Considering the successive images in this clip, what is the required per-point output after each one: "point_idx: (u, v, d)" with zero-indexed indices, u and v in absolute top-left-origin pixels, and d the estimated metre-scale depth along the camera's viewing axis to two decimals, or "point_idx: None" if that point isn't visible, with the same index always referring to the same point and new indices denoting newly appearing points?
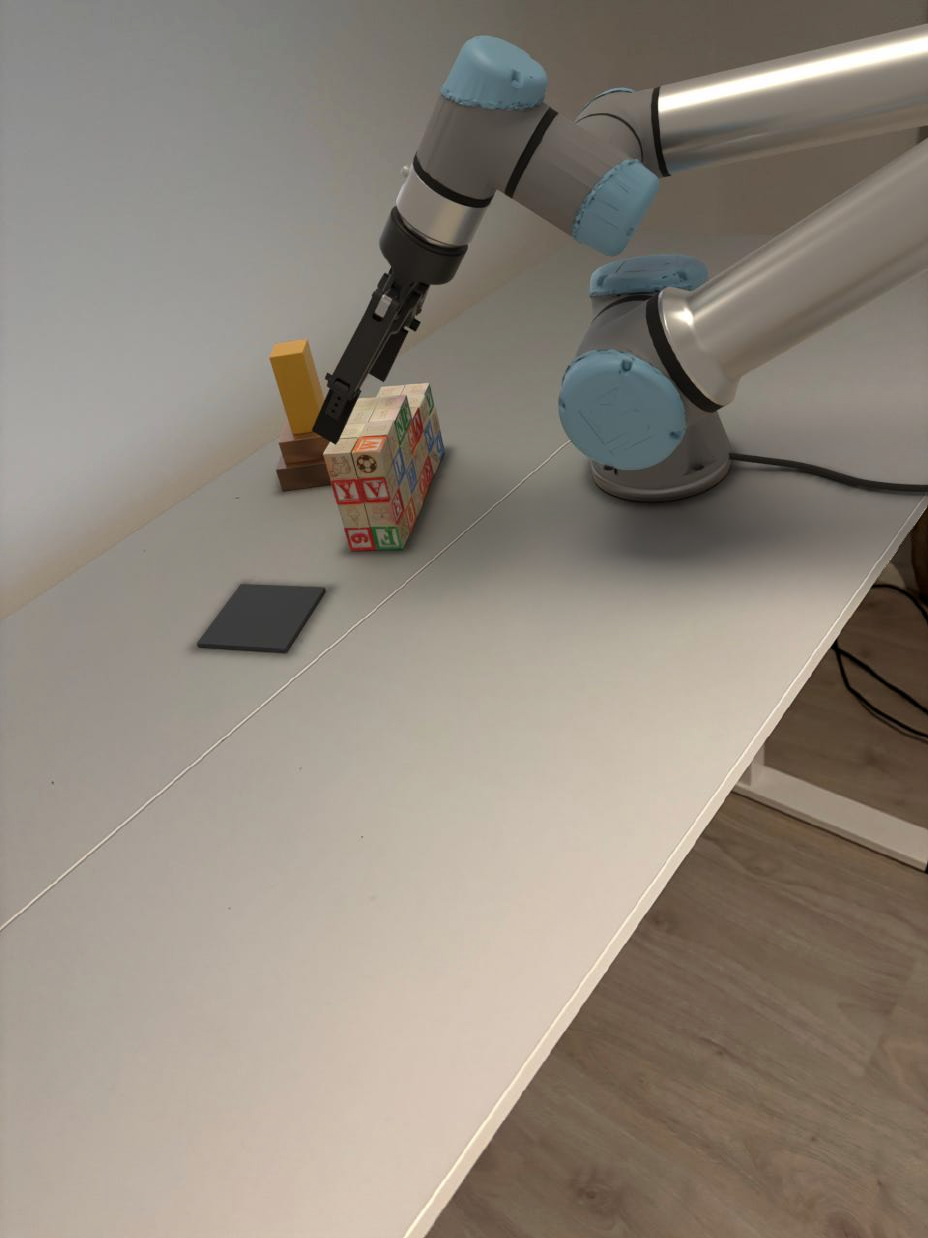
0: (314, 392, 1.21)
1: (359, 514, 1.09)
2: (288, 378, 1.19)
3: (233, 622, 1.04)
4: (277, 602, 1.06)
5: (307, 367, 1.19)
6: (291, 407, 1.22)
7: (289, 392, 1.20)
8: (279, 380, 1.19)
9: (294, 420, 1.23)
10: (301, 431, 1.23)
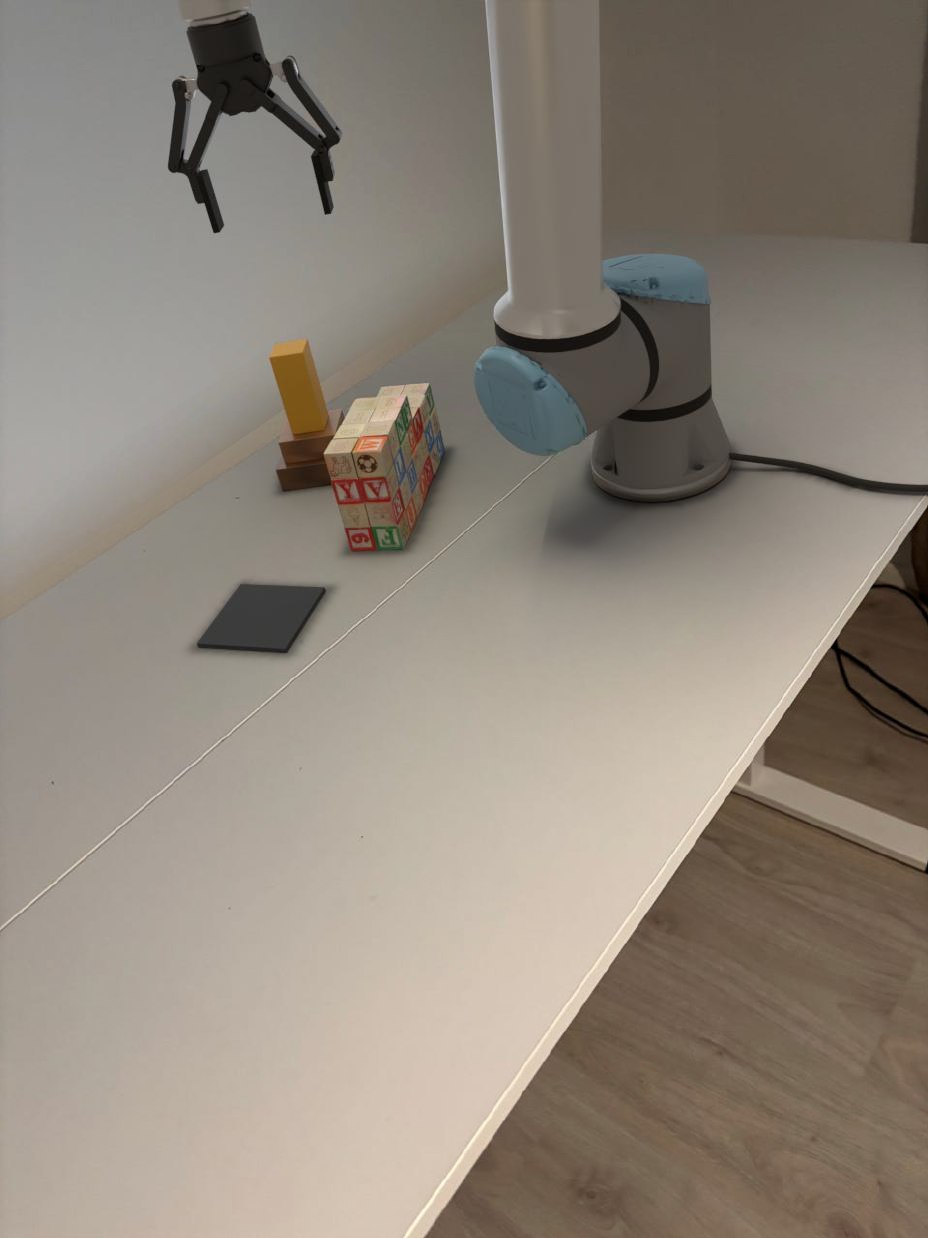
0: (314, 392, 1.21)
1: (360, 514, 1.09)
2: (288, 378, 1.19)
3: (233, 622, 1.04)
4: (277, 602, 1.06)
5: (307, 367, 1.19)
6: (291, 407, 1.22)
7: (289, 392, 1.20)
8: (279, 380, 1.19)
9: (294, 420, 1.23)
10: (301, 431, 1.23)
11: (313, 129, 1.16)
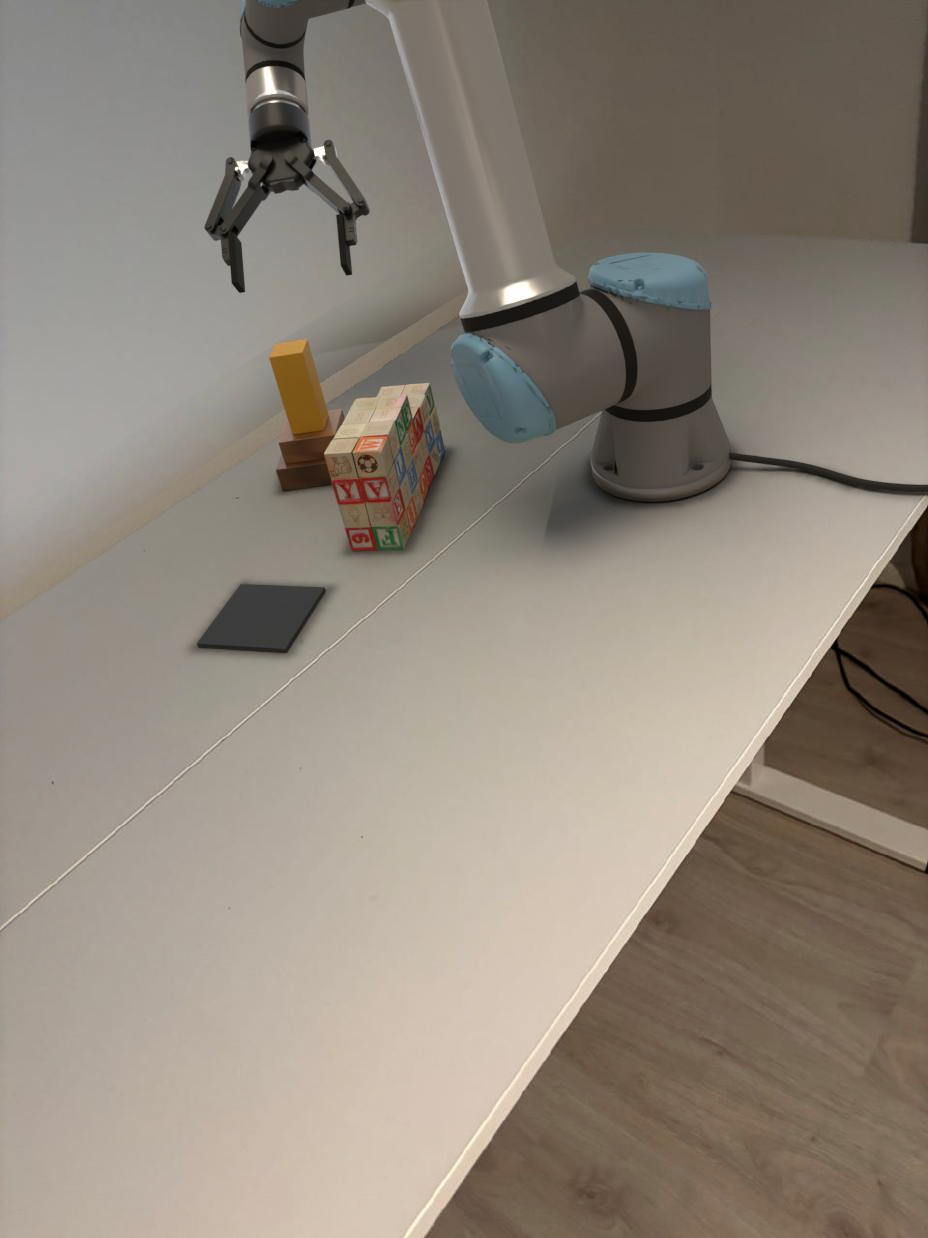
0: (314, 392, 1.21)
1: (360, 514, 1.09)
2: (288, 378, 1.19)
3: (233, 622, 1.04)
4: (277, 602, 1.06)
5: (307, 367, 1.19)
6: (291, 407, 1.22)
7: (289, 392, 1.20)
8: (279, 380, 1.19)
9: (294, 420, 1.23)
10: (301, 431, 1.23)
11: None
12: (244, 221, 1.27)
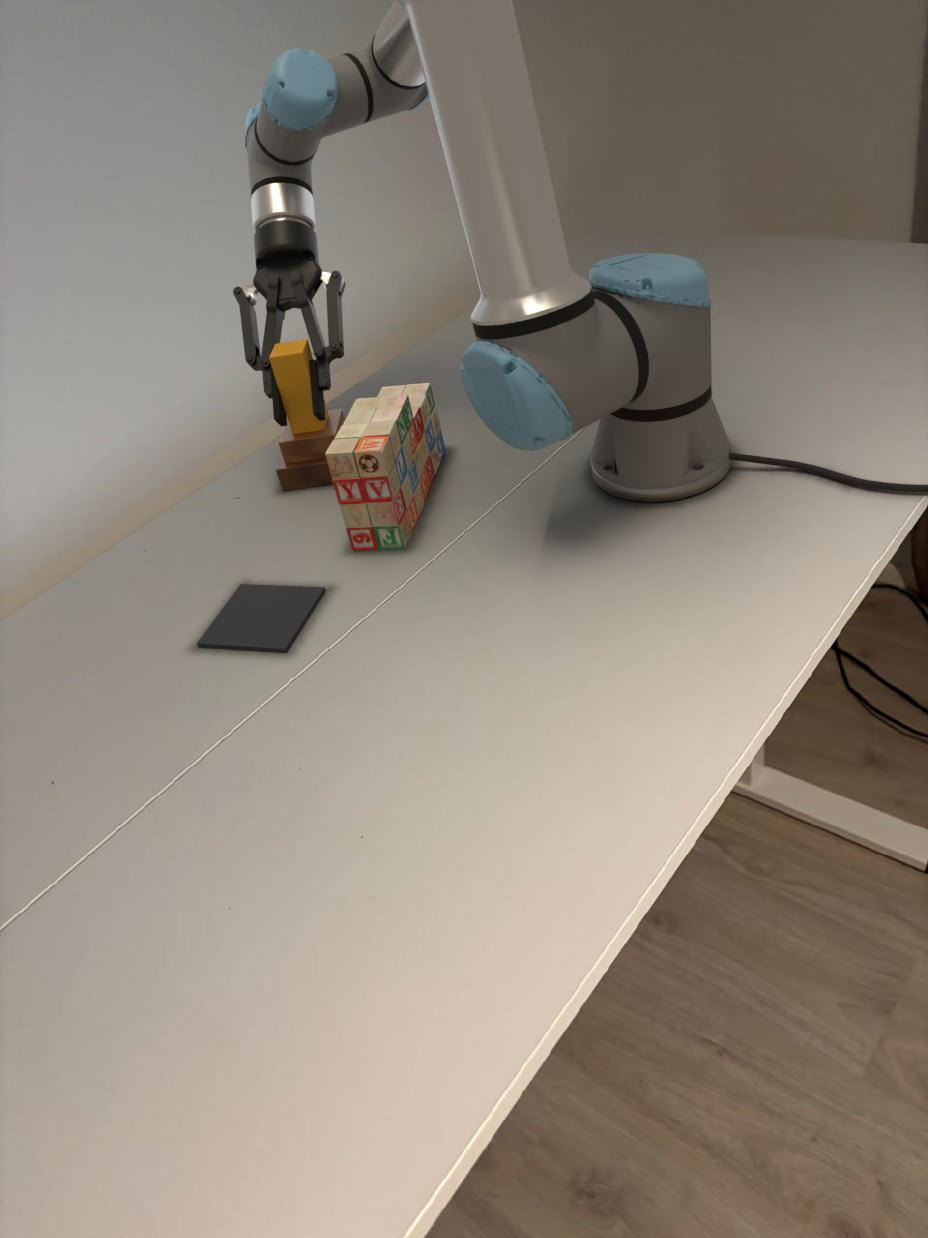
0: None
1: (361, 514, 1.09)
2: (288, 378, 1.19)
3: (233, 622, 1.04)
4: (277, 602, 1.06)
5: (307, 367, 1.19)
6: (291, 407, 1.22)
7: (290, 392, 1.20)
8: (279, 380, 1.19)
9: (294, 420, 1.23)
10: (301, 431, 1.23)
11: (324, 344, 1.22)
12: None
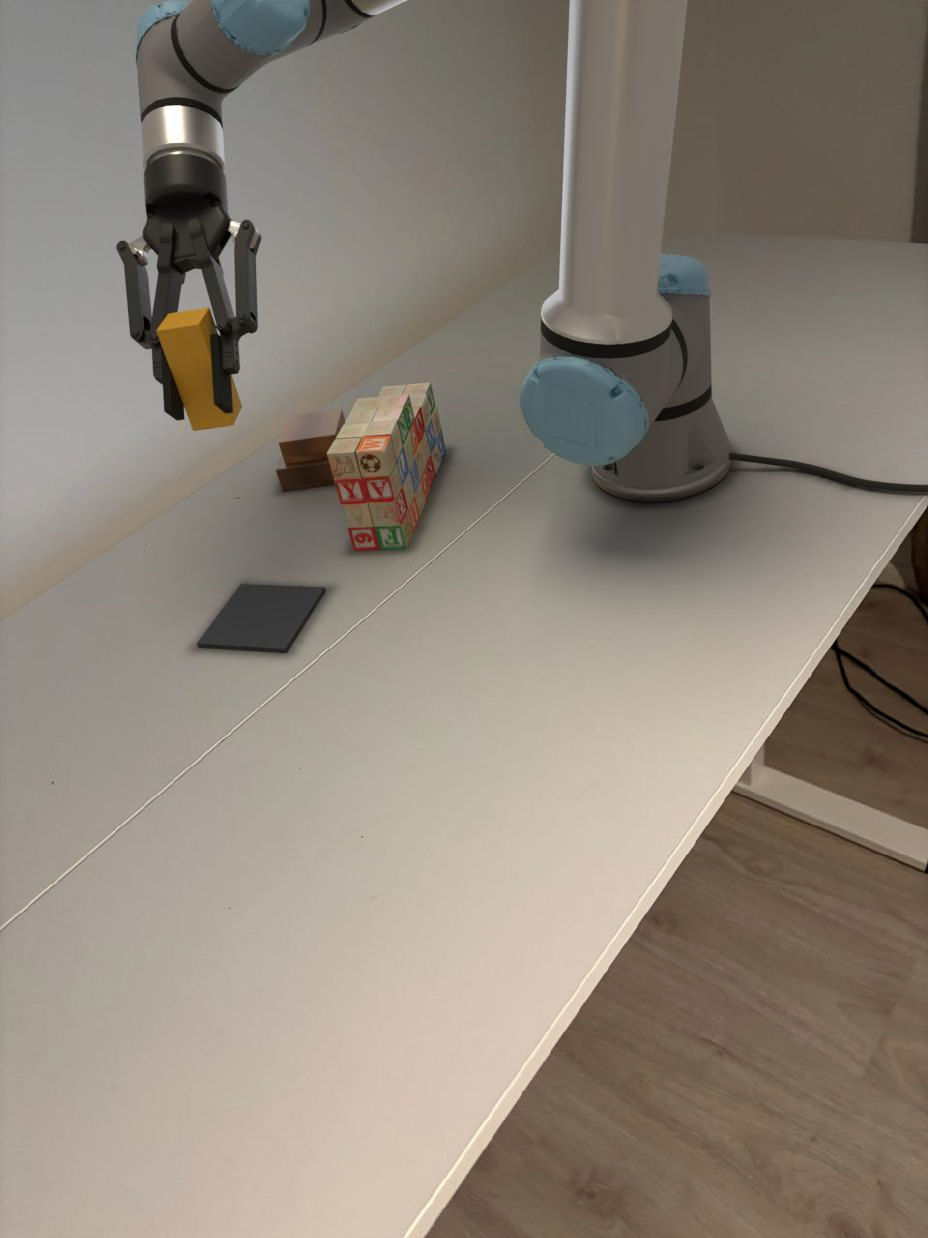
0: None
1: (363, 514, 1.09)
2: (182, 357, 0.92)
3: (233, 622, 1.04)
4: (277, 602, 1.06)
5: (207, 344, 0.92)
6: (190, 396, 0.94)
7: (186, 376, 0.93)
8: (171, 360, 0.92)
9: (193, 412, 0.95)
10: (204, 427, 0.96)
11: (231, 315, 0.94)
12: None
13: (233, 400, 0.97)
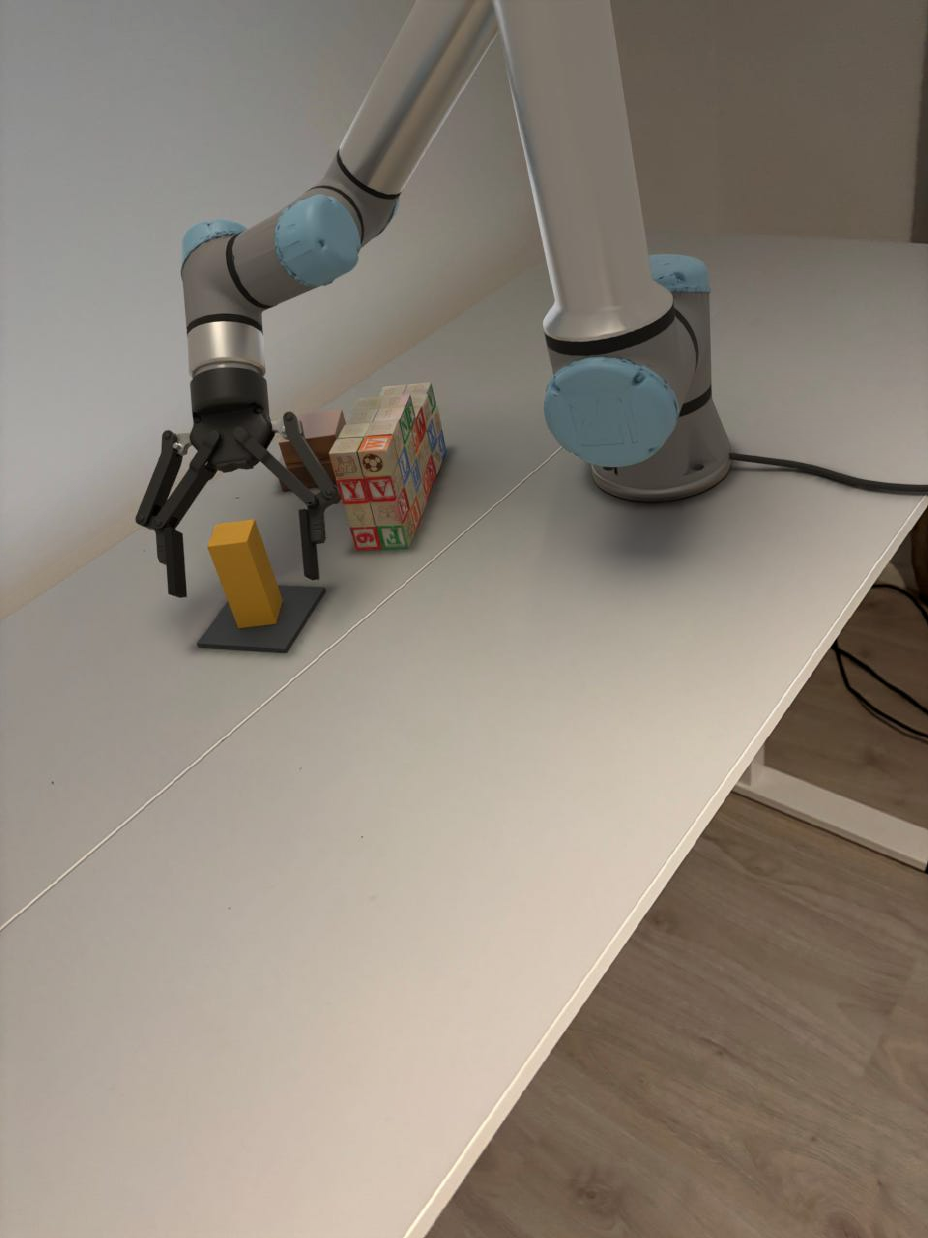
0: (263, 583, 1.00)
1: (365, 513, 1.08)
2: (230, 569, 0.99)
3: (233, 622, 1.04)
4: None
5: (253, 556, 0.98)
6: (236, 600, 1.01)
7: (233, 583, 1.00)
8: (220, 571, 0.99)
9: (239, 613, 1.02)
10: (249, 625, 1.03)
11: (308, 489, 1.00)
12: (186, 508, 1.02)
13: (275, 599, 1.03)
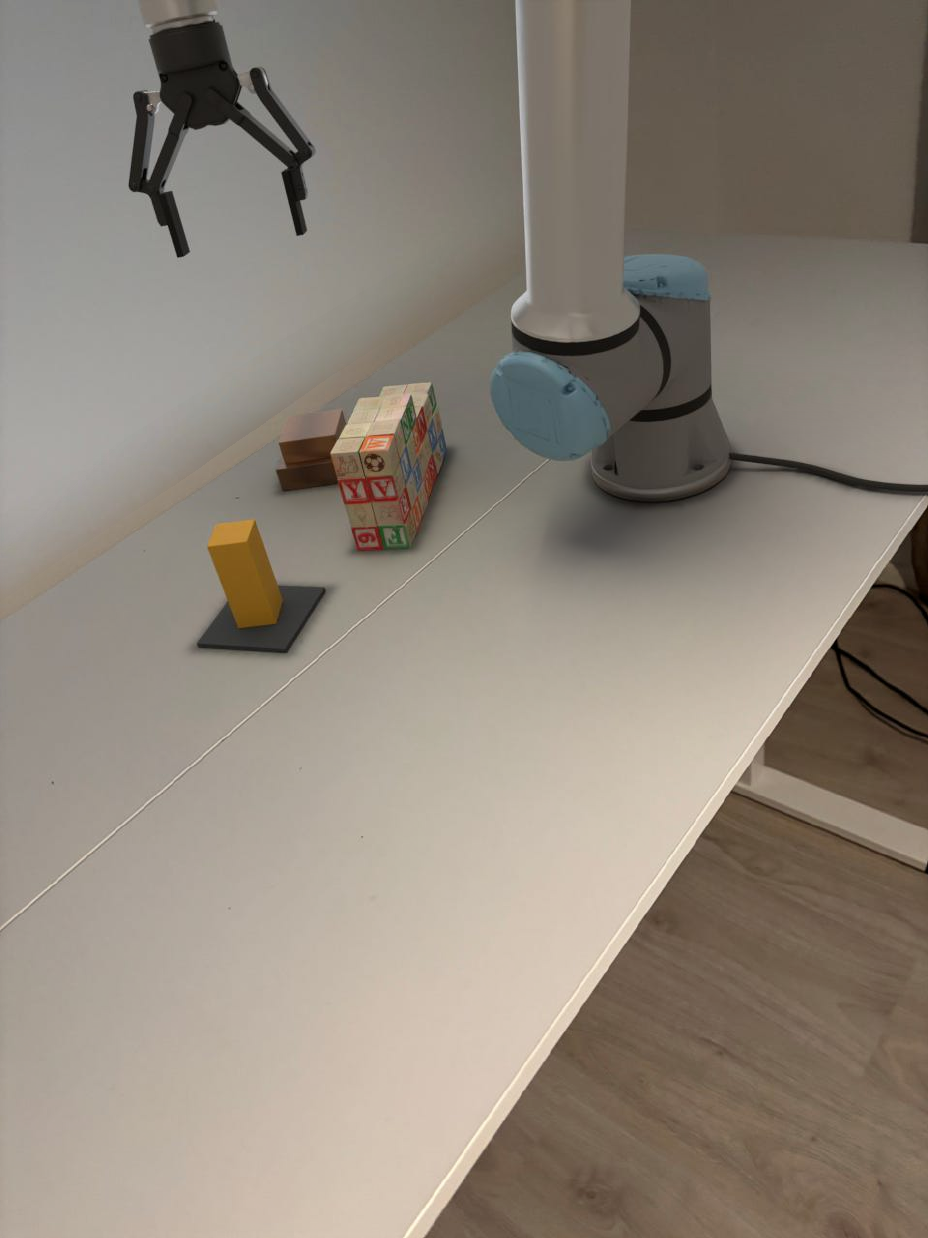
0: (263, 583, 1.00)
1: (366, 513, 1.08)
2: (230, 569, 0.99)
3: (233, 622, 1.04)
4: None
5: (253, 556, 0.98)
6: (236, 600, 1.01)
7: (233, 583, 1.00)
8: (220, 571, 0.99)
9: (239, 613, 1.02)
10: (249, 625, 1.03)
11: (284, 145, 1.09)
12: (171, 167, 1.10)
13: (275, 599, 1.03)
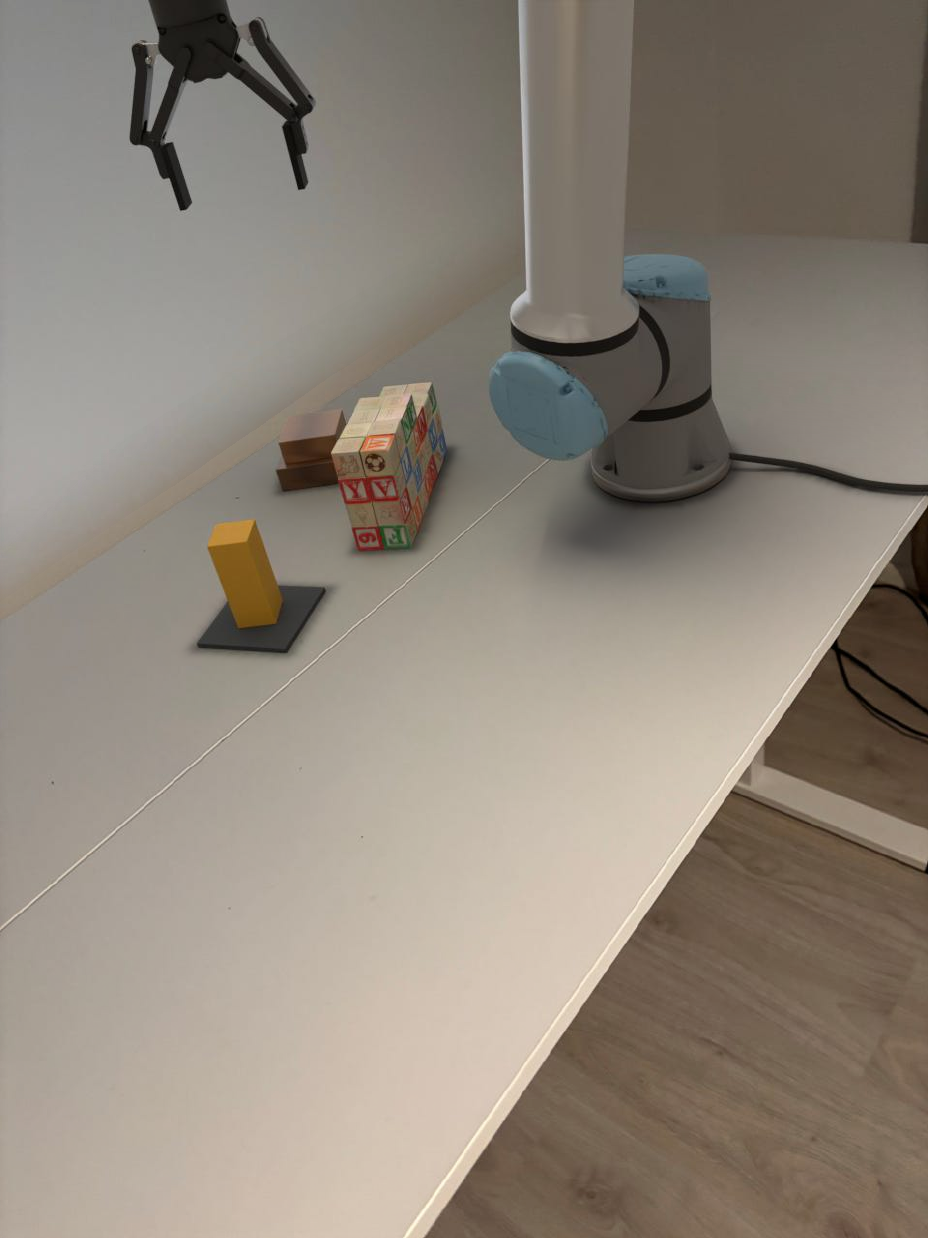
0: (263, 583, 1.00)
1: (367, 513, 1.08)
2: (230, 569, 0.99)
3: (233, 622, 1.04)
4: None
5: (253, 556, 0.98)
6: (236, 600, 1.01)
7: (233, 583, 1.00)
8: (220, 571, 0.99)
9: (239, 613, 1.02)
10: (249, 625, 1.03)
11: (284, 97, 1.08)
12: (171, 119, 1.10)
13: (275, 599, 1.03)
